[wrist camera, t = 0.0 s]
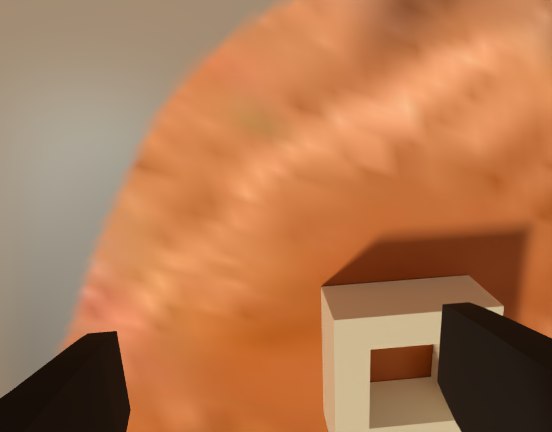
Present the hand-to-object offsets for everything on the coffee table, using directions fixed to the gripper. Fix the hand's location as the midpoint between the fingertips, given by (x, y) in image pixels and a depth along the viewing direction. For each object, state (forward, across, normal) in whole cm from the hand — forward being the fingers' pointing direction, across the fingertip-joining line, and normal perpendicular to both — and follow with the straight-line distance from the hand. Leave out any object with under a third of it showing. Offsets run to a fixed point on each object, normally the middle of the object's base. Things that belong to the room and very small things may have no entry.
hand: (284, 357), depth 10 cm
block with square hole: (+10, -6, +7) cm, 14 cm away
